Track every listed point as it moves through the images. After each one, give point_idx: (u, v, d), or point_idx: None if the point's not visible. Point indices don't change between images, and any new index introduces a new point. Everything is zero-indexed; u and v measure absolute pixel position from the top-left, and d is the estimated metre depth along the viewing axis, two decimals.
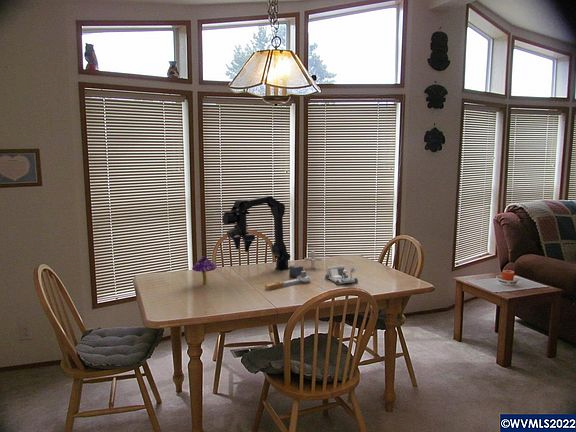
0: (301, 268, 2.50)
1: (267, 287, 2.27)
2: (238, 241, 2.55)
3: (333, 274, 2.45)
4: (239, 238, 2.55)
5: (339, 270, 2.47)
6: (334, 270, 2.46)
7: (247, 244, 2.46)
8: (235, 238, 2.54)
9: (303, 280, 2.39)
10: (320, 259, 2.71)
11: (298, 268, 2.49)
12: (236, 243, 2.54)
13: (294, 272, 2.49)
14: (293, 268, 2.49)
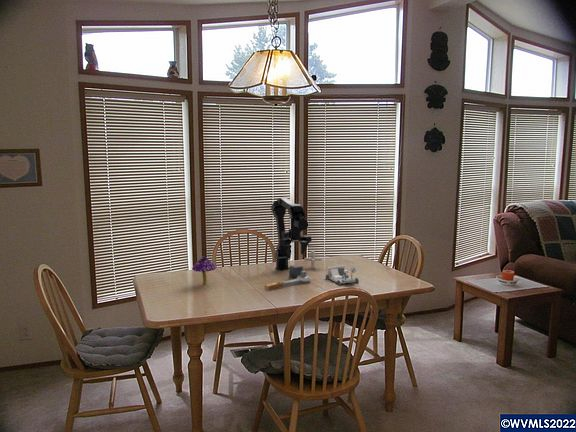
0: (301, 268, 2.50)
1: (267, 287, 2.27)
2: (303, 246, 2.52)
3: (333, 274, 2.45)
4: (304, 244, 2.52)
5: (339, 270, 2.47)
6: (334, 270, 2.46)
7: (287, 249, 2.47)
8: (301, 243, 2.54)
9: (303, 280, 2.39)
10: (320, 259, 2.71)
11: (298, 268, 2.49)
12: (301, 248, 2.53)
13: (294, 272, 2.49)
14: (293, 268, 2.49)
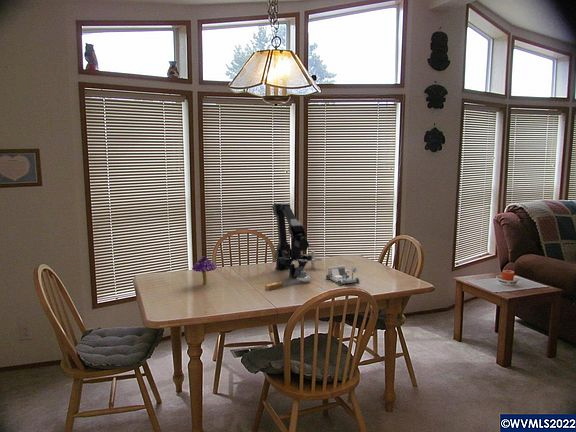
0: (301, 268, 2.50)
1: (267, 287, 2.27)
2: None
3: (334, 274, 2.45)
4: (302, 263, 2.52)
5: (340, 270, 2.47)
6: (335, 270, 2.46)
7: (290, 267, 2.49)
8: (299, 262, 2.54)
9: (303, 280, 2.39)
10: (320, 259, 2.71)
11: (298, 268, 2.49)
12: None
13: (294, 272, 2.49)
14: None
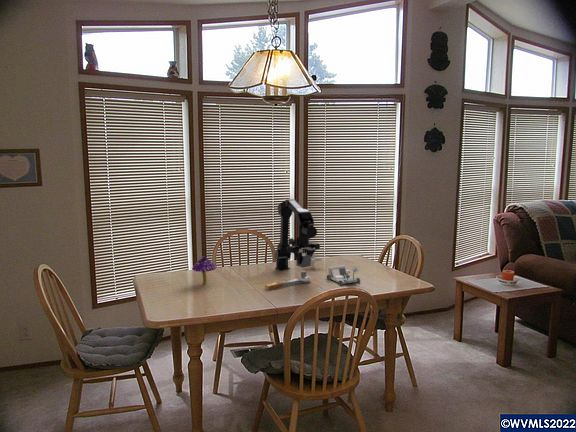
0: (309, 257, 2.40)
1: (267, 287, 2.27)
2: (309, 254, 2.42)
3: (335, 274, 2.45)
4: (310, 252, 2.41)
5: (340, 270, 2.47)
6: (336, 270, 2.46)
7: (297, 256, 2.38)
8: (307, 250, 2.43)
9: (303, 280, 2.39)
10: (320, 259, 2.71)
11: (306, 257, 2.38)
12: None
13: (301, 261, 2.38)
14: None
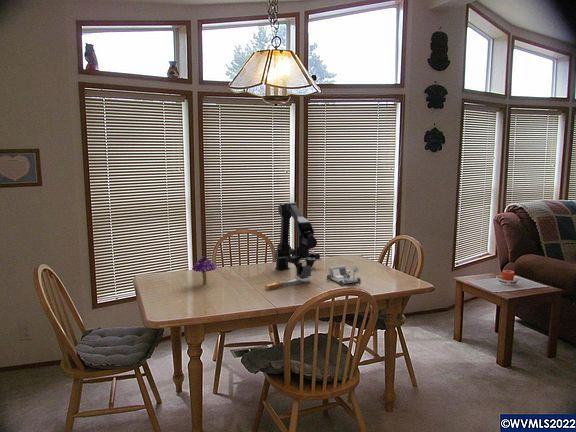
0: (309, 267, 2.40)
1: (267, 287, 2.27)
2: (309, 264, 2.43)
3: (335, 274, 2.45)
4: (310, 262, 2.42)
5: (341, 270, 2.47)
6: (336, 270, 2.46)
7: (297, 266, 2.39)
8: (307, 260, 2.44)
9: (303, 280, 2.39)
10: (320, 259, 2.71)
11: (306, 267, 2.39)
12: None
13: (302, 271, 2.39)
14: None
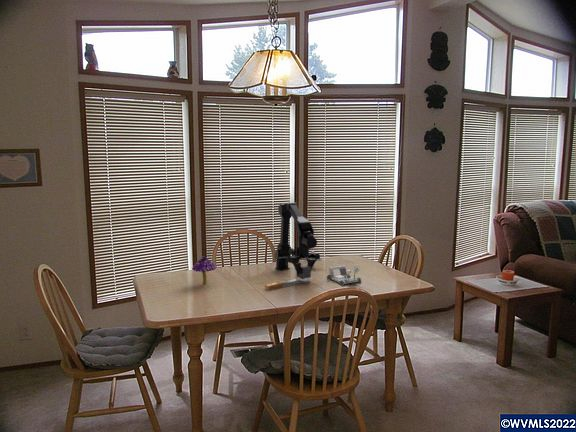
0: (309, 268, 2.40)
1: (267, 287, 2.27)
2: (310, 264, 2.43)
3: (335, 274, 2.45)
4: (311, 262, 2.42)
5: (341, 270, 2.47)
6: (336, 270, 2.46)
7: (296, 266, 2.38)
8: (308, 260, 2.44)
9: (303, 280, 2.39)
10: (320, 259, 2.71)
11: (306, 268, 2.39)
12: None
13: (301, 272, 2.39)
14: (300, 268, 2.39)
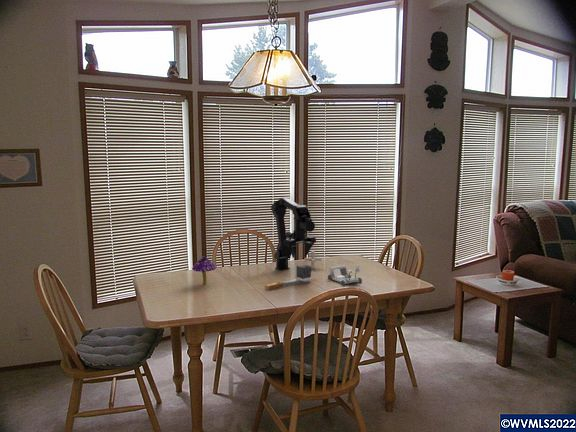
0: (309, 268, 2.40)
1: (267, 287, 2.27)
2: (307, 247, 2.53)
3: (336, 274, 2.45)
4: (309, 245, 2.52)
5: (341, 270, 2.47)
6: (337, 270, 2.46)
7: (291, 249, 2.47)
8: (306, 243, 2.54)
9: (303, 280, 2.39)
10: (320, 259, 2.71)
11: (306, 268, 2.39)
12: (306, 248, 2.54)
13: (301, 272, 2.39)
14: (300, 268, 2.39)
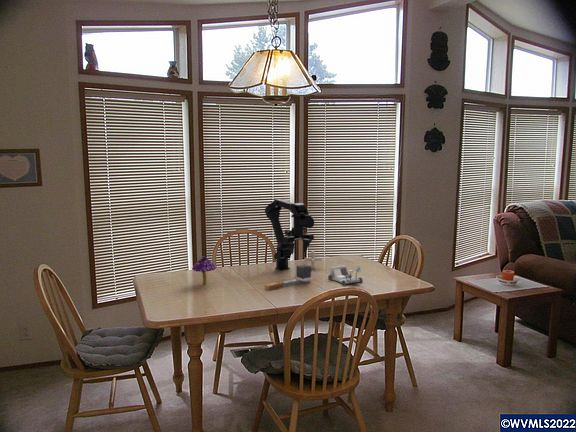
0: (309, 268, 2.40)
1: (267, 287, 2.27)
2: (306, 244, 2.58)
3: (337, 274, 2.44)
4: (307, 242, 2.58)
5: (342, 270, 2.47)
6: (337, 270, 2.46)
7: (290, 246, 2.53)
8: (304, 240, 2.60)
9: (303, 280, 2.39)
10: (320, 259, 2.71)
11: (306, 268, 2.39)
12: (304, 245, 2.60)
13: (301, 272, 2.39)
14: (300, 268, 2.39)
